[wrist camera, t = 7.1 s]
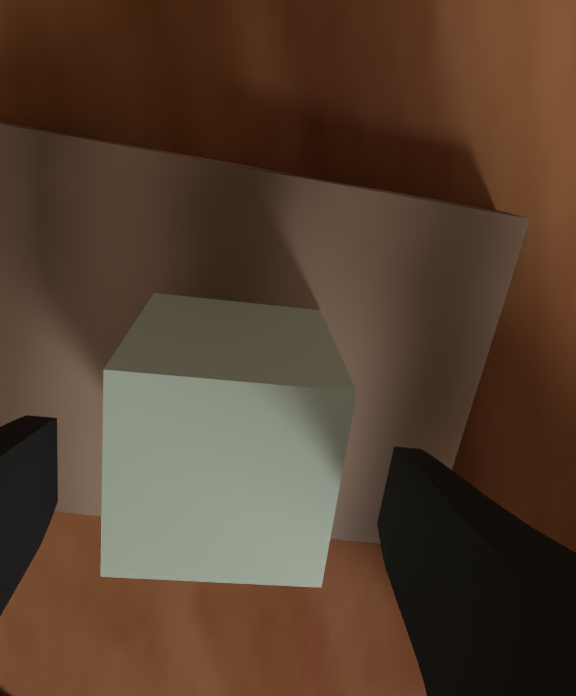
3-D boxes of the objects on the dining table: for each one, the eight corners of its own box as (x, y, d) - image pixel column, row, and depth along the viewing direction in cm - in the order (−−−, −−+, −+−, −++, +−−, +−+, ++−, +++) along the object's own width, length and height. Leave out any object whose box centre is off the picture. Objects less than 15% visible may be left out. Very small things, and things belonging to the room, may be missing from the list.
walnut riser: (489, 208, 19) (530, 218, 16) (405, 499, 23) (427, 548, 20) (5, 121, 17) (-43, 116, 14) (4, 455, 21) (-33, 502, 18)
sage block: (320, 310, 17) (356, 391, 11) (299, 453, 18) (321, 587, 13) (153, 292, 16) (103, 369, 11) (147, 442, 18) (100, 576, 12)
